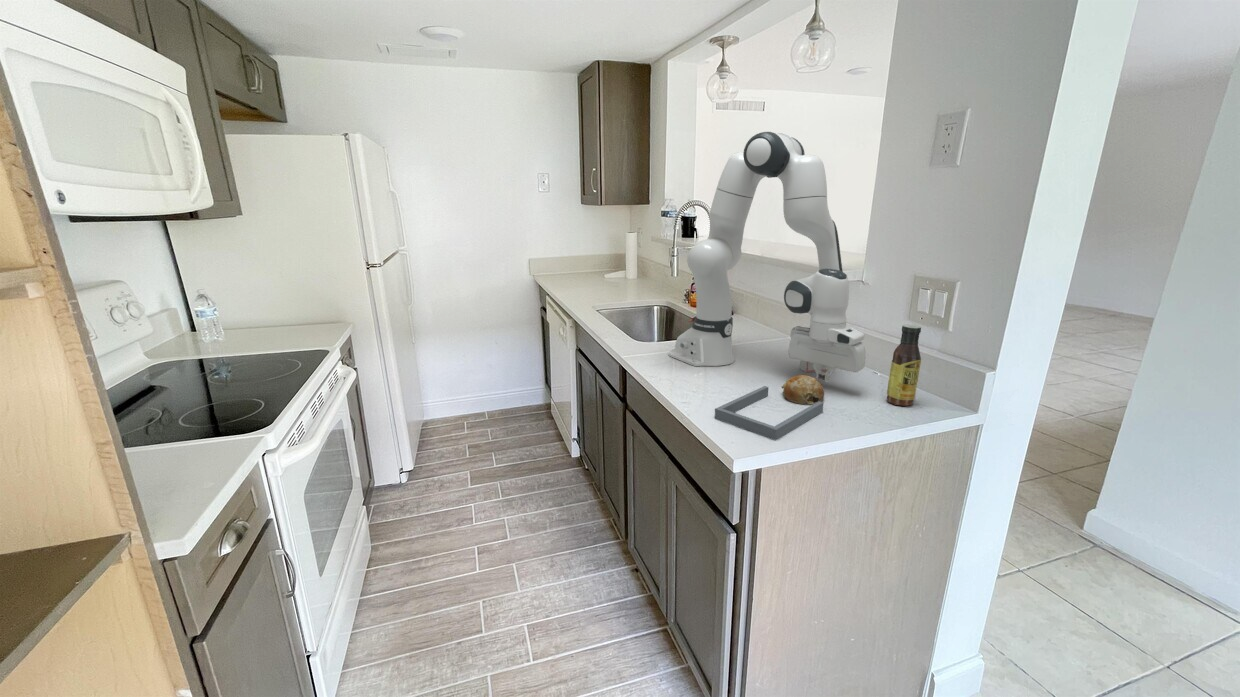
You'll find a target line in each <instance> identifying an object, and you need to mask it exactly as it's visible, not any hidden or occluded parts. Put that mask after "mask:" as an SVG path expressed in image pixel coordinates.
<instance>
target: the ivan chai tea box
mask: <svg viewBox="0 0 1240 697" xmlns="http://www.w3.org/2000/svg"><path fill="white" fill-rule="evenodd" d="M799 361H800V362H799V363H800V365H799V369H800V370H802V371H803V372H805V373H813V372H815V373H816V371H815V369H814V367H813V363H811V362H807V361H802V360H799ZM820 368H821V371H822V372H827V371H828V370H826V366H824V365H822V366H820Z"/></svg>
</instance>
